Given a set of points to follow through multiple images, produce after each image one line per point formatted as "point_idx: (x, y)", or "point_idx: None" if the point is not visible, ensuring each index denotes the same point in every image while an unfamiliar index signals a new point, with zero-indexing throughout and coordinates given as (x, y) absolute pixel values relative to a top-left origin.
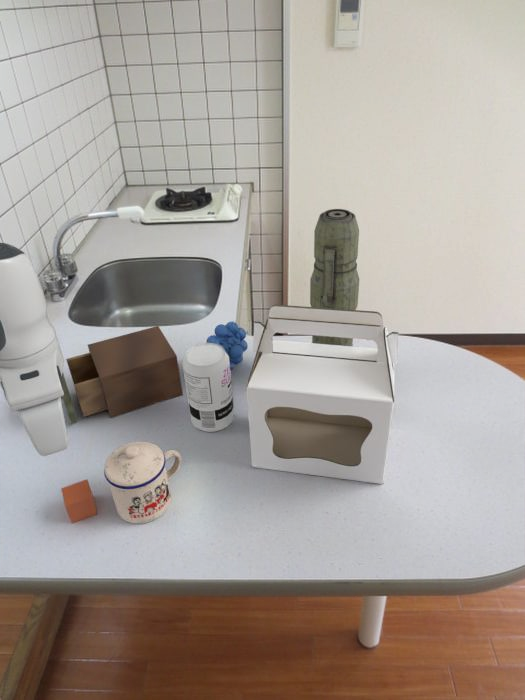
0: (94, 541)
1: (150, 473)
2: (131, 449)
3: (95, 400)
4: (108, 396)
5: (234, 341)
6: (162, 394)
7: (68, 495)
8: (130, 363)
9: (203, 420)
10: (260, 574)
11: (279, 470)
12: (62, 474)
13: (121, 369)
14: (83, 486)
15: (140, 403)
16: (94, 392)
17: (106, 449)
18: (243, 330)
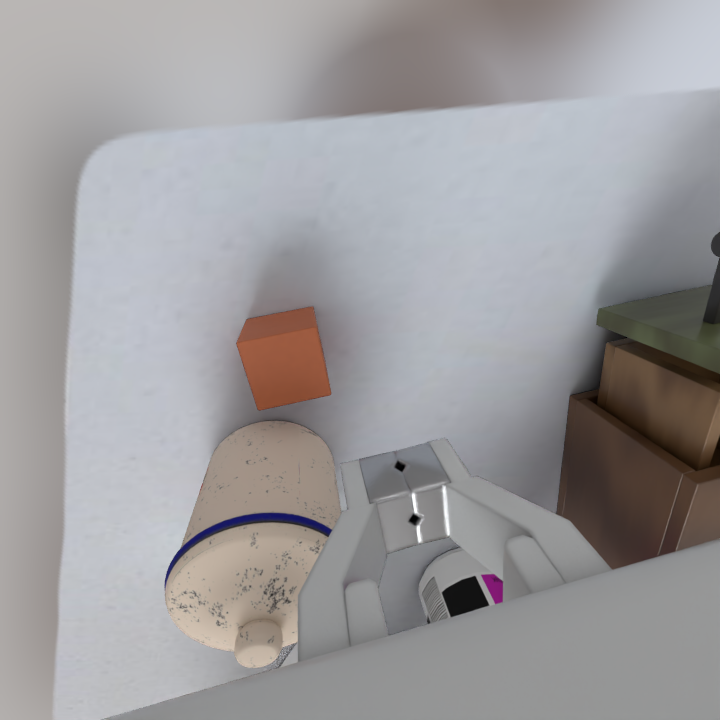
0: (178, 374)
1: (197, 638)
2: (258, 657)
3: (635, 398)
4: (623, 441)
5: None
6: (571, 510)
7: (279, 349)
8: None
9: (437, 598)
10: (63, 631)
11: (287, 656)
12: (428, 286)
13: (692, 534)
14: (303, 387)
15: (572, 466)
16: (661, 416)
17: (468, 389)
18: None
